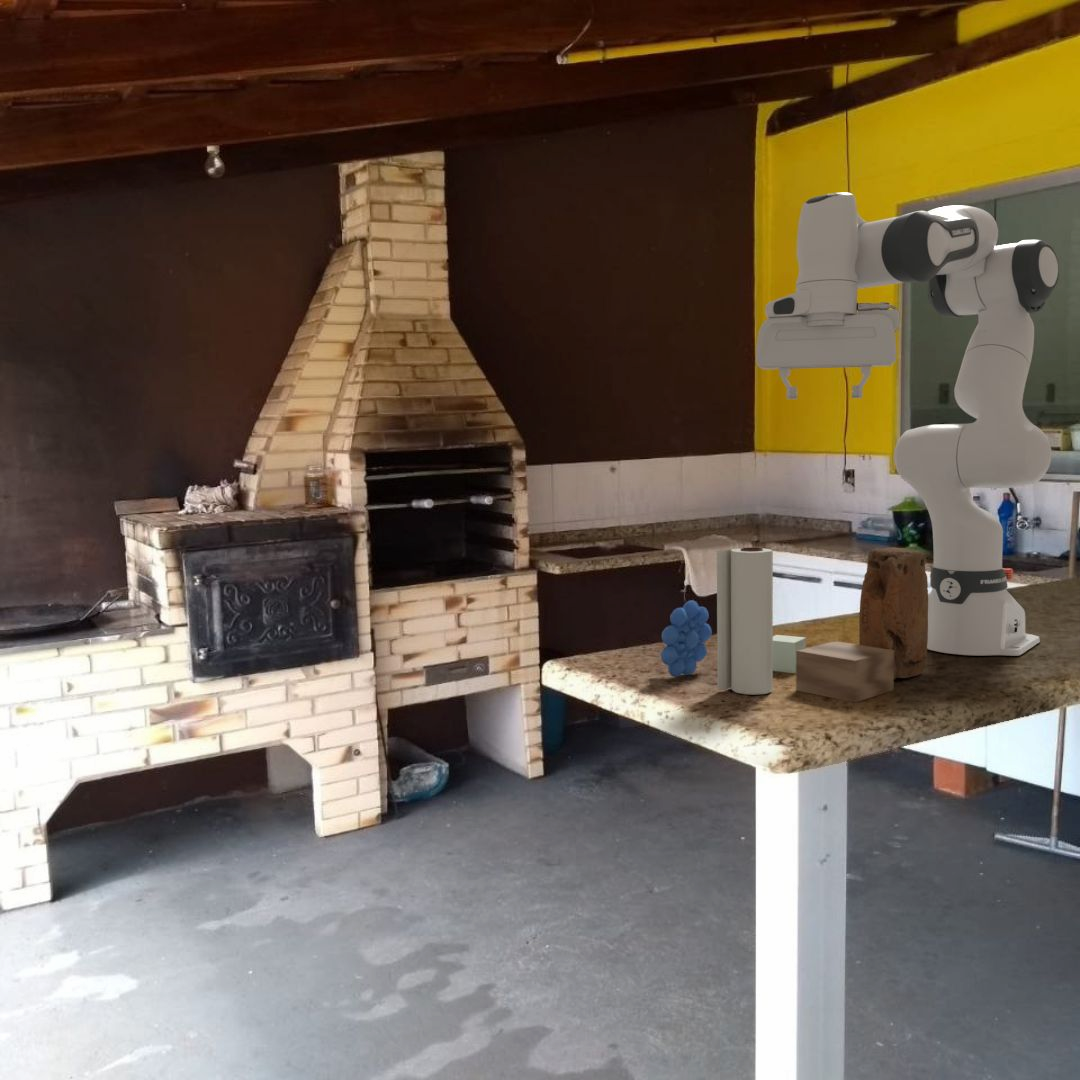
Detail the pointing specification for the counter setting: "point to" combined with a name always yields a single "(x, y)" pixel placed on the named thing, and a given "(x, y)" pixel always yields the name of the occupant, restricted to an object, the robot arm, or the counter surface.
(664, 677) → the counter surface
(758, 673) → the paper towel roll
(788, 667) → the green cube
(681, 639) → the grapes
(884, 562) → the block
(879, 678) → the walnut block
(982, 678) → the counter surface
